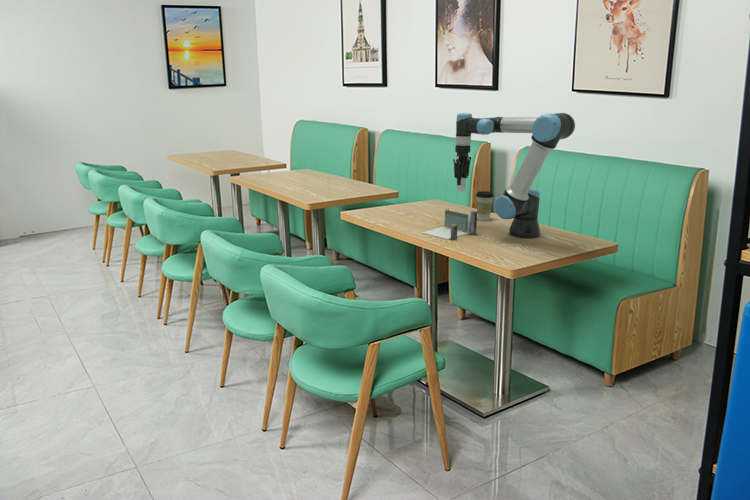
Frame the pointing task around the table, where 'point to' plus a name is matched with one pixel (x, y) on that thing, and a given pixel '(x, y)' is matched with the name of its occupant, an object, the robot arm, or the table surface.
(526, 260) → the table surface
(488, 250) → the table surface
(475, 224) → the hinge post
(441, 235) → the mat
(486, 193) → the coffee cup
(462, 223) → the gate
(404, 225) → the table surface
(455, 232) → the post
